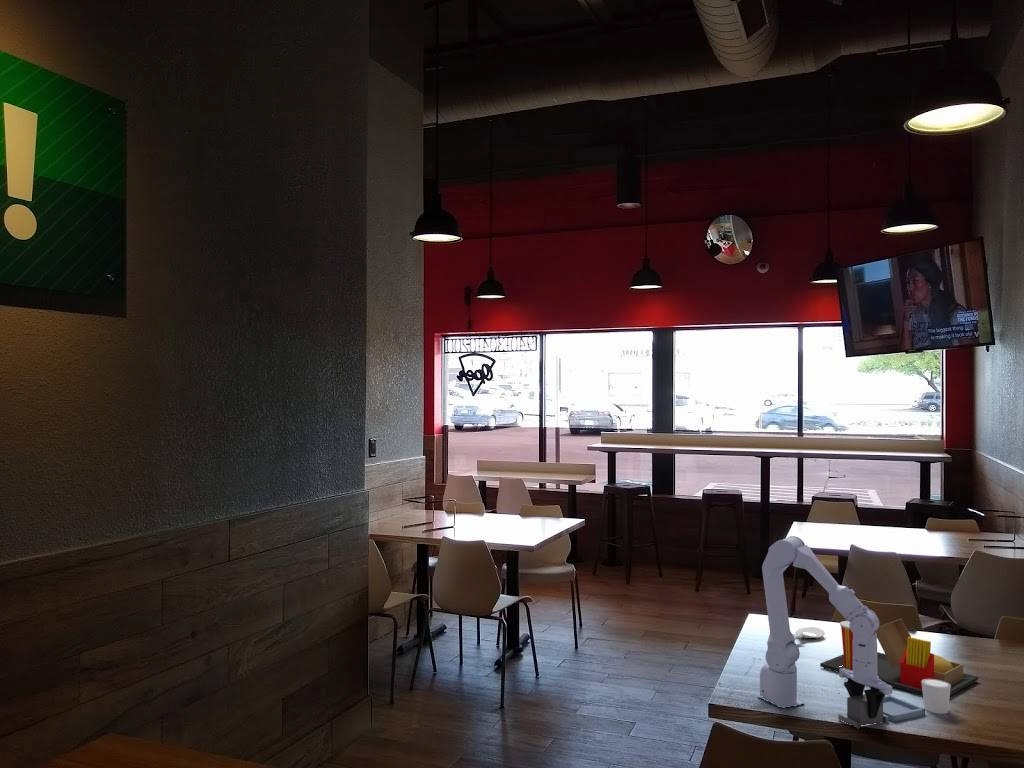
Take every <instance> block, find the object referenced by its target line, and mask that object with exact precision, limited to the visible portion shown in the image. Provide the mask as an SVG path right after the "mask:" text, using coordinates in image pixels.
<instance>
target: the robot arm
mask: <svg viewBox="0 0 1024 768" xmlns="http://www.w3.org/2000/svg"><path fill="white" fill-rule="evenodd" d="M790 565H792V566H793V567H795V568H799V569H804V570H806V571H807V572H808V573H809V575H811V576H812V577H813V578H814V579H815V580H816V581H817V582H818V583H819V585H821V586H822V588H823V589H825V590H826V592H827V593H828V599H829V602H830V603H831V604H832V605H833V606H834V608H835V609H836V610H837V611H838V612H839V614H841V615H842V617H843V618H844V619H845V621H849V622H850V624H849V626H850V629H851V631H852V633H853V671H852V670H848V669H845V668H844V669H839V672H838V674H839V677H840V678H845V679H847V680H846V681H844V682H843V686H844V687H845V689H846V691H847V693H848V695H849V696H848V697H853V696H858V695H863V694H865V695H866V699H867V704H868V716H869V718H871V719H872V718H876V717H877V713H878V710H879V707H880V704H881V702H882V700H883V698H884V697H885V696H887V695H893V687H892V686H890V685H888V684H886V683H885V682H883V681H882V680H880V679H879V676H877V652H878V641H877V640H878V639H877V633H876V632H875V631H876V630H877V629H878V627H879V626H880V619H879V617H878V616H877V613H876V612H875V611H873V610H872V609H869V607H868V606H867V605H864V604H863V603H862V601H860V599H859V598H857V596H856V595H855V594H856V592H855V591H854V589H853V588H851V589H849V588H848V586H845V585H840V584H839V583H838V582H837V580H836V579H835V578H834V577H833V576H832V574H831V573H830V572H829V571H828V570H827V568H826V567H825V565H823V563H822V562H821V561H820V560H819V559H818V558H817V556H816V555H815V553H814V552H813V551H812V548H811V547H810V546H808V544H805V542H804V540H803V539H802V538H800V537H798V536H794V535H793V536H792V535H791V536H790V535H789V536H788V537H786V538H783V539H779V540H777V541H776V542H774V543H773V544H771V545H770V546H769V547H768V551H767V554H766V557H765V559H764V560H763V563H762V566H761V571H762V579H763V588H764V594H765V596H764V597H765V601H766V603H765V605H766V611H767V618H768V619H767V620H768V626H769V628H768V629H769V635H768V639H767V642H766V643H767V650H766V653H765V662H766V663H765V664H764V665H762V667H761V669H760V672H759V694H758V695H759V696H763V697H761V698H764V699H765V700H768V701H769V702H772V703H773V704H776V705H778V706H780V707H782V708H783V707H789V706H794V707H796V706H795V705H799V706H802V705H801V704H804V705H805V702H804V701H801V700H799V699H798V689H797V688H798V668H797V664H796V663H797V661H798V660H799V658H800V654H801V653H800V652H801V651H800V649H799V646H798V645H797V643H796V640H794V636H793V635H794V634H793V633H792V631H791V628H790V626H791V625H790V620H789V619H790V618H789V613H788V606H787V605H788V604H787V596H786V590H785V589H786V588H785V581H784V572H785V570H786V569H787V568H788V567H790ZM874 632H875V633H874ZM865 687H868V689H865ZM761 698H760V699H761ZM765 700H764V701H765ZM769 702H768V703H769ZM773 704H772V705H773ZM782 708H781V709H782ZM789 708H790V707H789Z"/></svg>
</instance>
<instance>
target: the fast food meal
mask: <svg viewBox="0 0 1024 768" xmlns="http://www.w3.org/2000/svg"><path fill="white" fill-rule="evenodd" d="M849 624H850V622H849V621H847V620H843V621H841V622H839V625H840V631H841V643H842V651H843V653H842V654H841V655H838V656H836V657H833V658H831V659H828V660H824V661H823V662H820V664H819V666H820V667H821V668H823V667H824V669H826V668H827V669H826V670H829V669H831V670H830V671H832V670H834V671H833V672H836V671H838V672H837V673H839V669H844V668H845V669H848V670H852V671H853V633H852V631H851V629H850V626H849ZM875 632H876V633H877V640H878V641H877V642H879V644H880V647H881V648H882V650H883V653H882V652H879V651H877V676H879V679H880V680H882V681H883V682H885V683H886V684H888V685H890V686H892V688H894V687H895V689H898V690H902V691H906V692H909V693H912V694H917V695H920V696H923V691H922V680H924V679H936V680H941V681H945V682H947V683H949V684H950V685H951V688H950V696H952V695H953V694H955V693H958V692H959V691H961V690H963V689H965V688H966V687H968V686H969V685H971V684H973V683H975V682H977V681H978V680H979V676H976V675H973V674H969V673H965V672H964V664H962V663H957V662H954V661H949V660H948V659H946V658H945V657H942V656H940V655H937V654H934V653H932V652H931V647H932V645H931V644H932V642H931V641H930V640H924V639H920V638H914V637H912V635H911V634H910V632H909V629H908V628H907V627H906V624H905V623H904V621H903V619H902V618H897V619H896V620H892V621H889V622H887V623H884V624H881V625H879V627H878V629H877V630H876V631H875ZM875 632H874V633H875ZM842 665H843V666H842ZM839 666H842V667H839Z"/></svg>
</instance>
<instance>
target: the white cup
mask: <svg viewBox="0 0 1024 768" xmlns="http://www.w3.org/2000/svg"><path fill="white" fill-rule="evenodd" d="M950 688H951V685H950V684H949V683H947V682H945V681H941V680H936V679H924V680H922V691H923V695H922V698H923V708H924V709H925V711H928V712H930V713H934V714H941V715H945V714H948V713H949V707H950V699H951V698H950V696H951V695H950Z"/></svg>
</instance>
